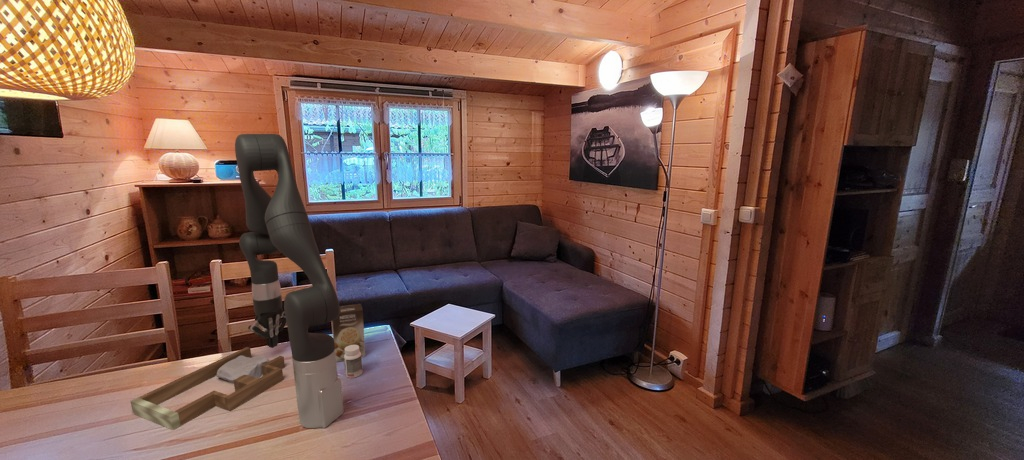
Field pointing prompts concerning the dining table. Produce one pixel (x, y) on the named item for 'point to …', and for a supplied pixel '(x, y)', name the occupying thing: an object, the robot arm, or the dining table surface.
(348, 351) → the pill bottle
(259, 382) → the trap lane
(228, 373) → the stone block
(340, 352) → the coffee box
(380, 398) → the dining table surface
